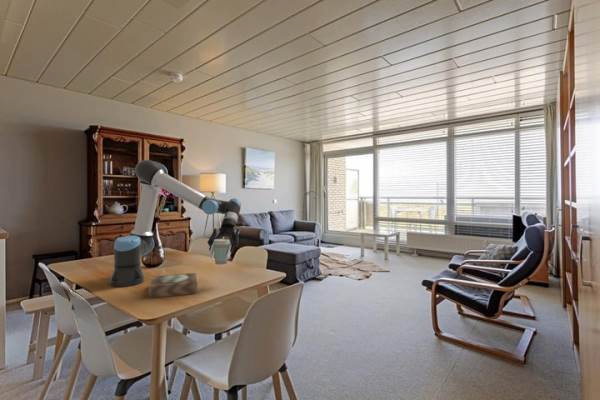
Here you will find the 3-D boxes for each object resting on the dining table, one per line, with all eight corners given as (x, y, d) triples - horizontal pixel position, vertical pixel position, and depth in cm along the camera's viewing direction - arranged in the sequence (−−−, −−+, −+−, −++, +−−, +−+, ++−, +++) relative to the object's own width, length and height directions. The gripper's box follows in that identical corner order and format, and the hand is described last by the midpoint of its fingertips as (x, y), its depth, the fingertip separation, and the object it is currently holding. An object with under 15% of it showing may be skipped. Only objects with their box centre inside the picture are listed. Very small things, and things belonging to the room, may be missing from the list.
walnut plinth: (148, 297, 131) (148, 285, 131) (153, 286, 147) (153, 275, 147) (196, 293, 138) (196, 281, 138) (195, 282, 155) (195, 272, 155)
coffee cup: (225, 265, 146) (225, 241, 146) (209, 264, 148) (209, 240, 148) (232, 262, 155) (233, 239, 154) (217, 260, 156) (217, 238, 156)
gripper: (249, 226, 166) (241, 261, 150) (212, 225, 167) (200, 260, 151) (247, 218, 160) (238, 253, 145) (209, 217, 162) (196, 251, 146)
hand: (219, 256), depth 148 cm, fingers closed on coffee cup, 8 cm apart
